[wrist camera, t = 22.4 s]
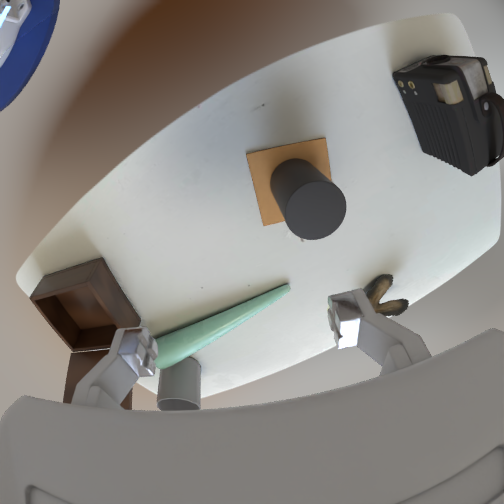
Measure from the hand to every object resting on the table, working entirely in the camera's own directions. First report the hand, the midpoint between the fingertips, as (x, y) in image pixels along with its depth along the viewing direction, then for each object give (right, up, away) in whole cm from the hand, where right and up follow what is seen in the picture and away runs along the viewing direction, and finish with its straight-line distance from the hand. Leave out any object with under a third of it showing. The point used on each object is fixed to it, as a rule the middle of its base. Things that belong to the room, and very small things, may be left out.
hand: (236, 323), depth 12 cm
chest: (-27, -5, +29) cm, 40 cm away
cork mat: (+6, +12, +23) cm, 26 cm away
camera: (+26, +25, +17) cm, 40 cm away
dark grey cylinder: (+6, +12, +22) cm, 26 cm away
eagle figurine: (+23, -4, +35) cm, 42 cm away
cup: (-14, -21, +41) cm, 48 cm away
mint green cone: (-5, -8, +34) cm, 36 cm away
